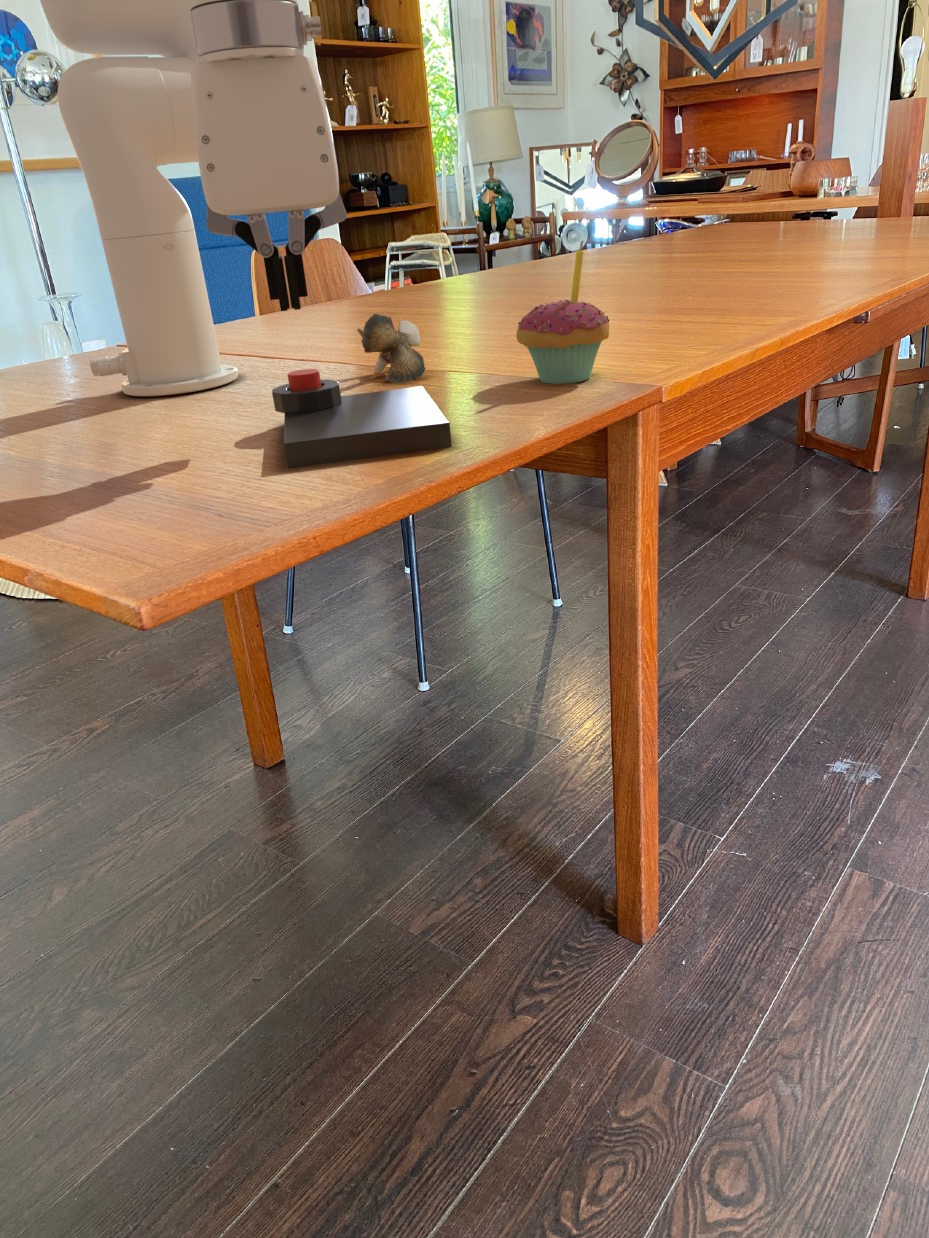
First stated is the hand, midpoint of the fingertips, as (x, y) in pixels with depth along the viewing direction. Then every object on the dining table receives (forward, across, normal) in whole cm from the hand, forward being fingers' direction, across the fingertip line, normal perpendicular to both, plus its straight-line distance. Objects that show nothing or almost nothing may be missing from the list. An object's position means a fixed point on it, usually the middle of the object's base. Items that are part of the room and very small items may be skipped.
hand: (290, 307), depth 73 cm
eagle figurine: (+10, -9, -19) cm, 24 cm away
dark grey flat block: (+10, -4, +6) cm, 12 cm away
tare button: (+7, 0, +1) cm, 7 cm away
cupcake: (+10, -24, -6) cm, 27 cm away
